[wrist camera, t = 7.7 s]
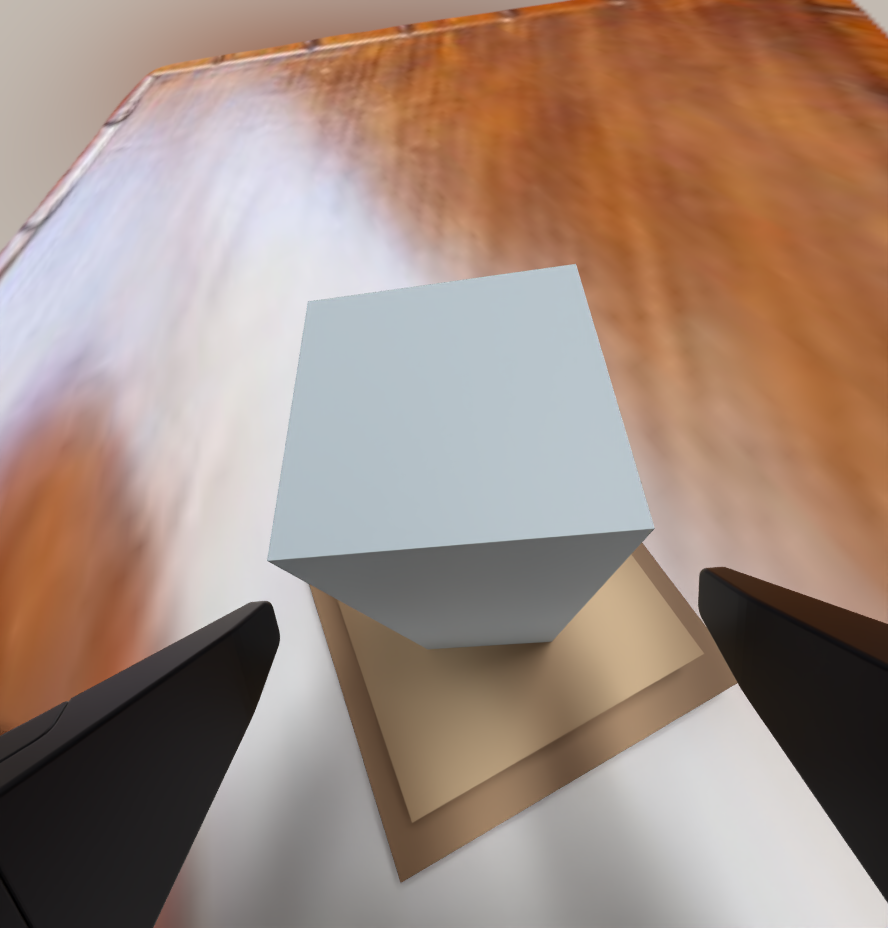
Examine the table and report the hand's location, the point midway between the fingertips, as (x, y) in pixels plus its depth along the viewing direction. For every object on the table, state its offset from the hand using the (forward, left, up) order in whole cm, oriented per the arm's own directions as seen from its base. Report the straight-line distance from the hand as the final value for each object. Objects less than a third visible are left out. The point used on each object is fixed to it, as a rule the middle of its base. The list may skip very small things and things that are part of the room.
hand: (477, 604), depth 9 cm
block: (+1, +2, -7) cm, 8 cm away
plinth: (+1, +2, -11) cm, 12 cm away
